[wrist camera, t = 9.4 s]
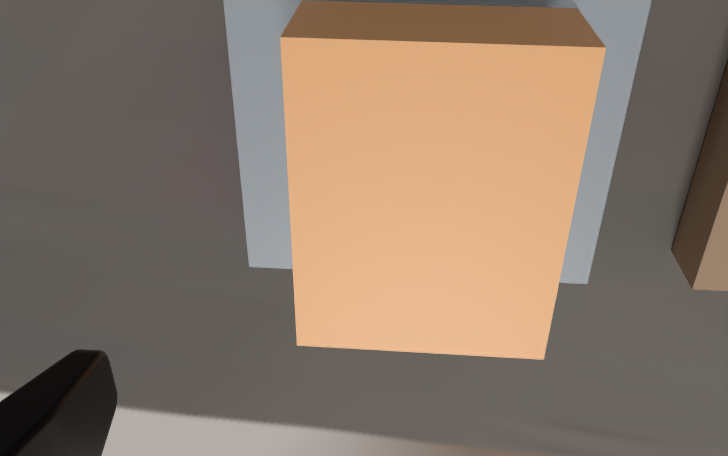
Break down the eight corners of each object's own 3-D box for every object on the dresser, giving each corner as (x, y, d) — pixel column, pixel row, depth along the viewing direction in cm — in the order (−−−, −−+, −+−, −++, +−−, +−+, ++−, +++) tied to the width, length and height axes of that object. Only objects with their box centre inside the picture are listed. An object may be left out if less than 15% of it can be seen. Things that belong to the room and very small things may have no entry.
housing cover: (529, 291, 17) (543, 359, 15) (312, 279, 18) (297, 345, 16) (577, 8, 14) (605, 47, 12) (301, 0, 14) (280, 37, 12)
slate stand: (646, -102, 16) (671, -90, 15) (574, 245, 22) (586, 283, 20) (234, -110, 17) (213, -99, 15) (262, 231, 22) (249, 266, 21)
